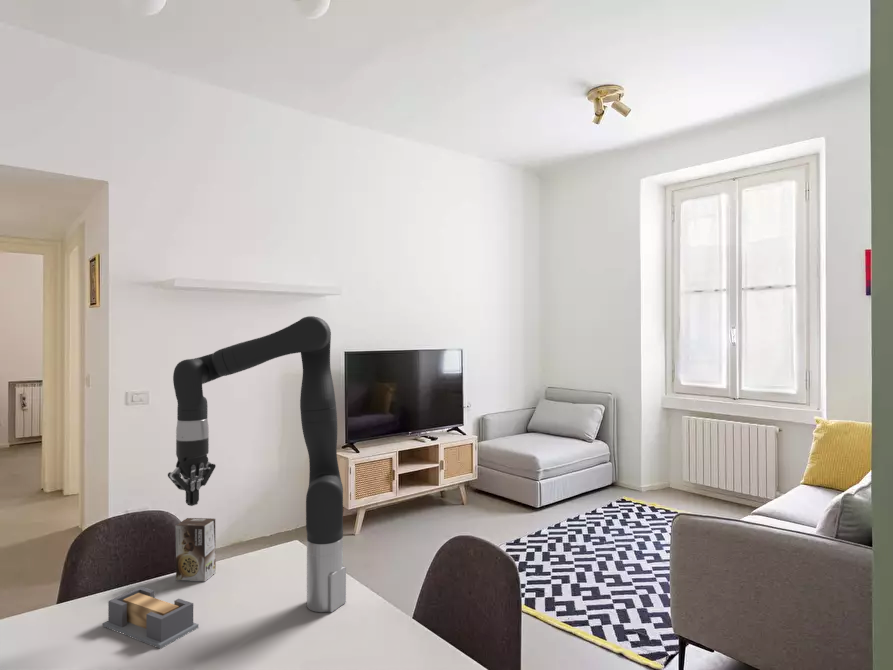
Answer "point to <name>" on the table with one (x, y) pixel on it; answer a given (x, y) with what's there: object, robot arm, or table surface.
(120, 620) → the end caps
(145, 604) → the wooden block
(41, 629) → the table surface
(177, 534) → the coffee box
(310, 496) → the robot arm
